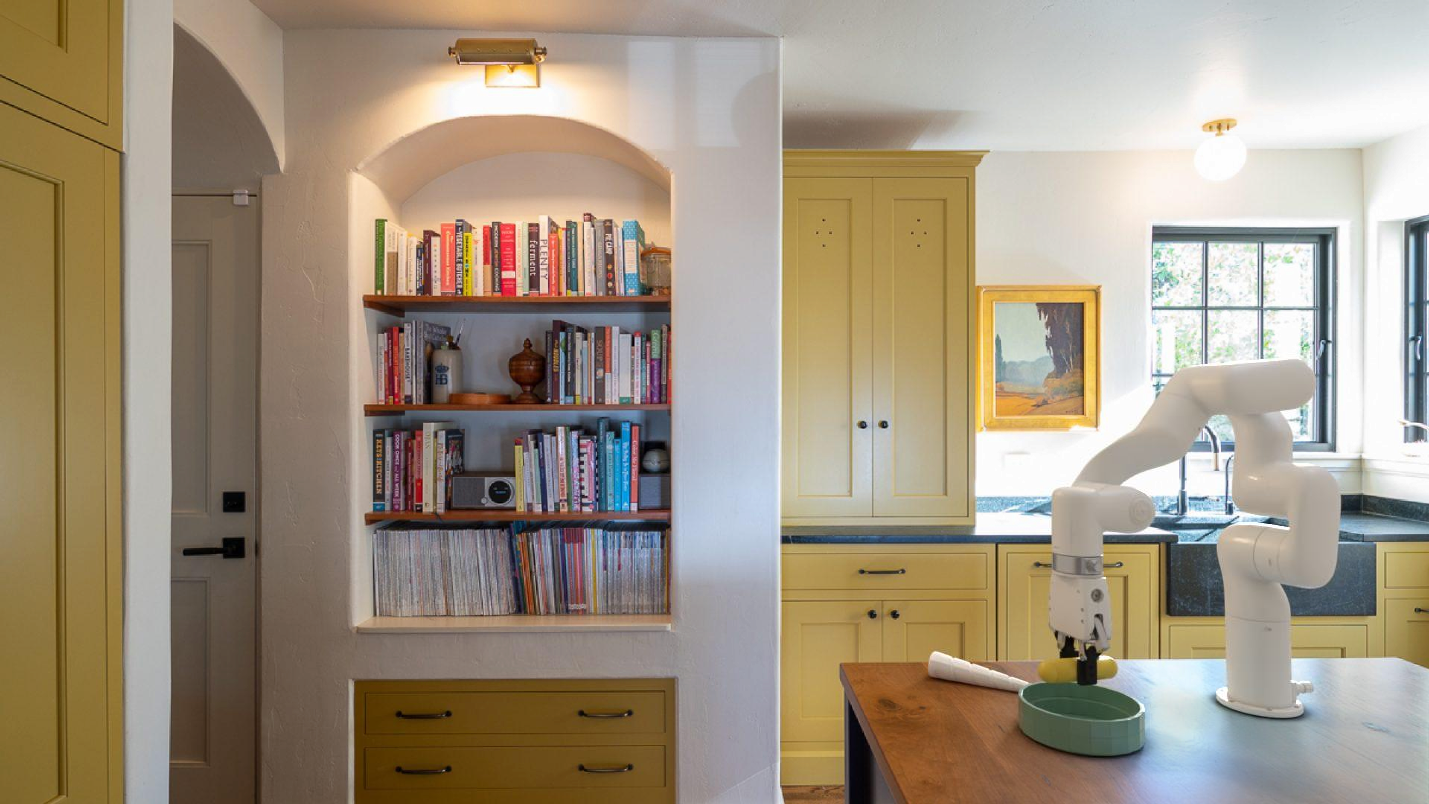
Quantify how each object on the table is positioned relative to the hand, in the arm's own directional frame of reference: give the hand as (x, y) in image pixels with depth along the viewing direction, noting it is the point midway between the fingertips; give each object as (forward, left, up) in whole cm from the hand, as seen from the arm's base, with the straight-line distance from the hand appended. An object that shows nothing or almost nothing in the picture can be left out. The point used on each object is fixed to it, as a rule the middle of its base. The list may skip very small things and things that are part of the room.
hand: (1078, 679), depth 129 cm
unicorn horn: (+2, -24, -9) cm, 26 cm away
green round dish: (0, 0, -9) cm, 9 cm away
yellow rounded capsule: (0, 0, 0) cm, 0 cm away
